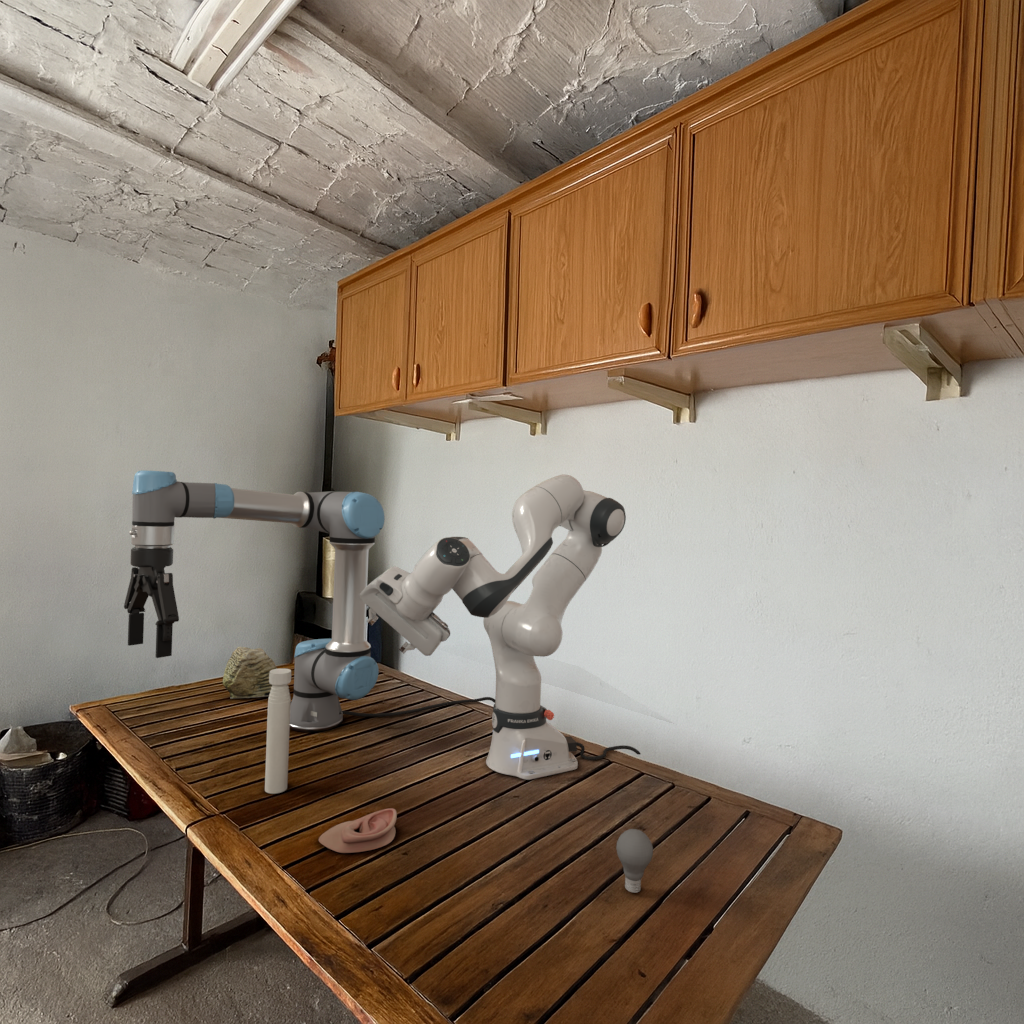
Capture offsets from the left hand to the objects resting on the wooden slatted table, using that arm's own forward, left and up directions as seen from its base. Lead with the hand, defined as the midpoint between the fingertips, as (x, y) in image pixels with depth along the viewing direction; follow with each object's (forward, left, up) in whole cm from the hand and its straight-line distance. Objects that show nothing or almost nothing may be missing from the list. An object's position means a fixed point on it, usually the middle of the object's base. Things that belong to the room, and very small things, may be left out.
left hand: (149, 650), depth 129 cm
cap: (-21, +15, -5) cm, 26 cm away
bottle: (-21, +15, -30) cm, 40 cm away
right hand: (-37, +30, +3) cm, 48 cm away
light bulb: (-41, +90, -30) cm, 103 cm away
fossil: (-50, -47, -30) cm, 75 cm away
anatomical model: (-20, +44, -30) cm, 57 cm away
